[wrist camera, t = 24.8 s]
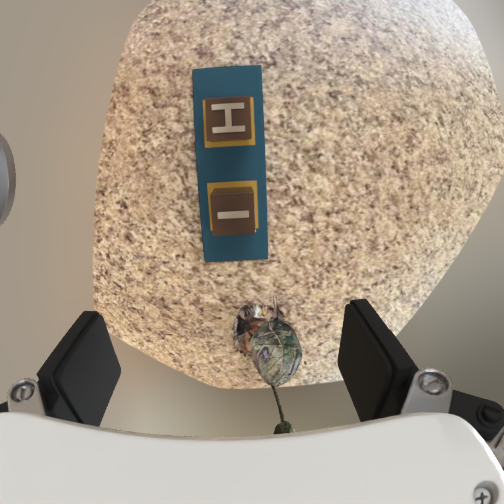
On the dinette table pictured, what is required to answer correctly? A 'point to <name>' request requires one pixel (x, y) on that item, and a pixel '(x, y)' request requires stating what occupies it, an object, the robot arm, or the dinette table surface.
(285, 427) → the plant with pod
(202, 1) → the dinette table surface
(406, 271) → the dinette table surface
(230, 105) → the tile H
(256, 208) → the word mat
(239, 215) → the tile
